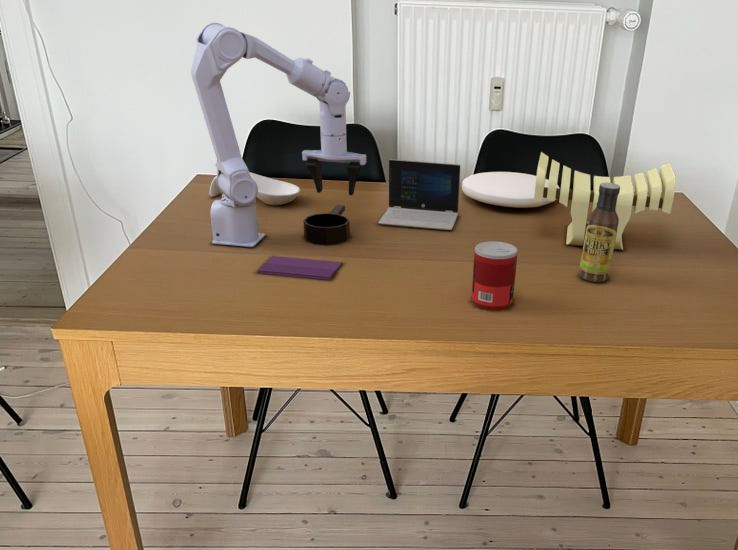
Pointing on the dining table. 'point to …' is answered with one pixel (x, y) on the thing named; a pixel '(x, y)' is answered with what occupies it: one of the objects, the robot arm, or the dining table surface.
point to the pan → (327, 227)
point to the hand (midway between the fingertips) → (335, 192)
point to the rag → (300, 268)
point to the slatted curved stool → (584, 195)
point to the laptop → (422, 195)
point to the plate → (503, 189)
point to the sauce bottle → (600, 235)
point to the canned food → (494, 275)
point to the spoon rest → (267, 190)
